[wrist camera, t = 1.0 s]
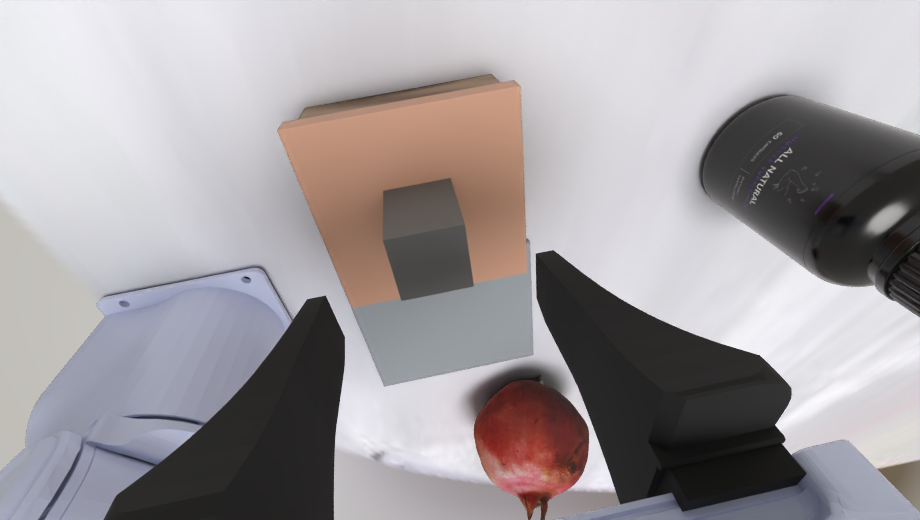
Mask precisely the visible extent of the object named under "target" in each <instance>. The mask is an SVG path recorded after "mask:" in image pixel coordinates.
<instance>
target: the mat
mask: <svg viewBox="0 0 920 520" xmlns="http://www.w3.org/2000/svg"><path fill="white" fill-rule="evenodd" d="M526 250H527V273H523V274H518V275H514V276H509V277H504V278H499V279H494V280H489V281H484V282H479V283H474V287H469V288H464V289H459V290H454V291H449V292H444V293H440V294H435V295H430V296H425V297H420V298H415V299H410V300H405V301H401V298H400V299H395V300H390V301H385V302H380V303H375V304H370V305H365V306H360V307H355V308H352V310H353V313H354V315H355V318H356V320H357V322H358V325H359V327H360V329H361V332H362V334H363V337H364V339H365V341H366V344H367V346H368V349H369V351H370V353H371V356H372V358H373V360H374V363H375V365H376V368H377V370H378V372H379V375H380V377H381V380H382V382H383V384H384V386H389V385H394V384H398V383H403V382H408V381H413V380H417V379H422V378H427V377H432V376H436V375H441V374H446V373H451V372H455V371H460V370H465V369H470V368H474V367H479V366H484V365H488V364H493V363H498V362H503V361H507V360H512V359H517V358H522V357H526V356H531V355H533V326H532V294H531V262H530V242H529V240H528V239H526ZM340 282H341V281H340ZM345 294H346V293H345ZM350 306H351V305H350Z"/></svg>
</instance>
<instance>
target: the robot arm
mask: <svg viewBox="0 0 920 520" xmlns="http://www.w3.org/2000/svg"><path fill="white" fill-rule="evenodd" d="M244 276H247V277H249V278H250V279H246V278H245V277H244ZM536 289H537V300H538V303H539V306H540V309H541V312H542V314H543V317H544V320H545V322H546V324H547V326H548V328H549V330H550V332H551V334H552V336H553V338H554V340H555V342H556V344H557V346H558V348H559V350H560V352H561V354H562V356H563V358H564V360H565V362H566V364H567V365H568V367H569V369H570V371H571V373H572V375H573V377H574V379H575V382H576V384H577V386H578V388H579V391H580V393H581V396H582V398H583V401H584V404H585V406H586V409H587V411H588V414H589V417H590V419H591V422H592V425H593V427H594V430H595V433H596V435H597V438H598V441H599V444H600V446H601V449H602V452H603V455H604V458H605V461H606V463H607V466H608V469H609V472H610V475H611V478H612V481H613V484H614V487H615V490H616V493H617V496H618V499H619V502H620V505H616V506H612V507H608V508H603V509H599V510H595V511H590V512H586V513H581V514H577V515H572V516H568V517H564V518H559V519H555V520H920V512H918V510H917V509H915V507H914V506H913V505H912V504H911V503H910V502H909V501H908V500H907V499H906V498H905V497H904V496H903V495H902V494H901V493H900V492H899V491H898V490H897V489H896V488H895V487H894V486H893V485H892V484H891V483H890V482H889V481H888V480H887V479H886V478H885V477H884V476H883V475H882V474H881V473H880V472H879V471H878V470H877V469H876V468H875V467H874V466H873V465H872V464H871V463H870V462H869V461H868V460H867V459H866V458H865V457H864V456H863V455H862V454H861V453H860V452H859V451H858V450H857V449H856V448H855V447H854V446H853V445H852V444H851V443H850V442H849V441H848V440H838V441H834V442H830V443H825V444H821V445H816V446H812V447H808V448H804V449H801V450H799V451H797V452H795V453H794V454H792V455H791V454H790V453H789V452H788V451H787V449H786V448H785V447H784V446H783V445H782V443H784V442H785V437H784V435H783V434H782V433H781V432H780V431H779V429H778V428H777V427H776V426H775V424H776V423H777V421H778V420H779V418H780V417H781V415H782V413H783V412H784V410H785V409H786V407H787V406H788V404H789V402H790V399H791V395H792V394H791V387H790V386H789V385H788V383H787V382H786V381H785V380H784V379H783V378H782V377H781V376H780V375H779V374H778V373H777V372H776V371H775V370H774V369H773V368H772V367H771V366H770V365H769V364H768V363H767V362H766V361H765V360H764V359H763V358H762V357H761V356H760V355H756V354H753V353H750V352H746V351H743V350H740V349H736V348H733V347H729V346H726V345H723V344H720V343H717V342H714V341H711V340H708V339H705V338H703V337H700V336H697V335H694V334H692V333H689V332H687V331H684V330H682V329H679V328H677V327H675V326H672V325H670V324H668V323H666V322H663V321H661V320H659V319H657V318H655V317H653V316H651V315H649V314H647V313H645V312H643V311H641V310H639V309H637V308H635V307H634V306H632V305H630V304H628V303H626V302H625V301H623V300H621V299H620V298H618V297H617V296H615V295H613V294H612V293H610V292H609V291H607V290H606V289H604V288H603V287H601V286H600V285H598V284H597V283H596V282H594V281H593V280H591V279H590V278H589V277H587V276H586V275H584V274H583V273H582V272H581V271H579V270H578V269H577V268H575V267H574V266H573V265H571V264H570V263H569V262H568V261H566V260H565V259H564V258H563V257H561V256H560V255H559V254H558V253H556V252H555V251H554V250H552V251H547V252H542V253H537V254H536ZM125 301H127V302H125ZM97 307H98V309H99V310H100V311H101V312H102V313H103V314H104V315H105V317H104V319H103V320H102V321H101V322H100V324H99V325H98V326H97V327H96V328H95V330H94V331H93V332H92V333H91V335H90V336H89V337H88V338H87V340H86V341H85V342H84V343H83V344H82V346H81V347H80V348H79V349H78V351H77V352H76V353H75V354H74V355H73V357H72V358H71V359H70V360H69V362H68V363H67V364H66V365H65V366H64V368H63V369H62V370H61V371H60V373H59V374H58V375H57V376H56V377H55V379H54V380H53V381H52V383H51V384H50V385H49V386H48V388H47V389H46V390H45V391H44V392H43V393H42V395H41V396H40V398H39V399H38V401H37V402H36V404H35V406H34V408H33V410H32V412H31V415H30V418H29V421H28V425H27V430H26V438H25V447H26V448H25V449H23V450H22V451H21V452H20V453H19V454H18V455H17V456H16V457H15V458H13V459H12V460H11V461H10V462H9V463H8V464H7V465H6V466H5V467H4V468H3V469H2V470H1V471H0V520H334V498H333V497H334V451H335V433H336V424H337V417H338V410H339V402H340V395H341V388H342V381H343V373H344V365H345V337H344V335H343V332H342V330H341V328H340V326H339V324H338V322H337V319H336V317H335V315H334V313H333V311H332V309H331V306H330V304H329V302H328V300H327V298H326V296H322V297H317V298H312V299H307V301H306V302H305V304H304V305H303V306H302V308H301V309H300V311H299V312H298V314H297V315H296V317H295V318H294V320H293V321H292V320H291V318H290V317H289V315H288V313H287V311H286V310H285V308H284V306H283V304H282V302H281V301H280V299H279V297H278V295H277V294H276V292H275V290H274V288H273V286H272V285H271V283H270V281H269V279H268V278H267V276H266V274H265V272H264V271H263V270H261V269H259V268H250V269H245V270H240V271H235V272H229V273H224V274H219V275H214V276H209V277H204V278H199V279H194V280H189V281H184V282H179V283H173V284H168V285H163V286H158V287H153V288H148V289H143V290H138V291H133V292H128V293H122V294H117V295H112V296H107V297H103V298H101V299H100V300H99V301H98V303H97Z"/></svg>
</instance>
